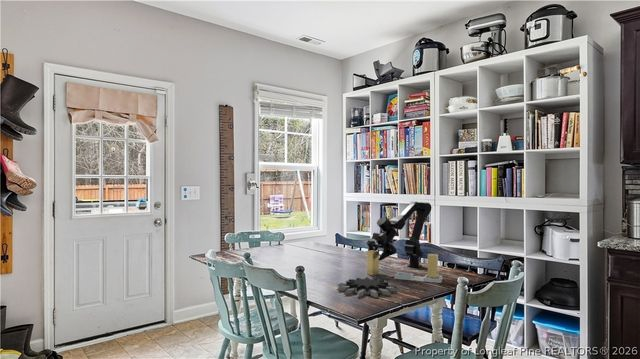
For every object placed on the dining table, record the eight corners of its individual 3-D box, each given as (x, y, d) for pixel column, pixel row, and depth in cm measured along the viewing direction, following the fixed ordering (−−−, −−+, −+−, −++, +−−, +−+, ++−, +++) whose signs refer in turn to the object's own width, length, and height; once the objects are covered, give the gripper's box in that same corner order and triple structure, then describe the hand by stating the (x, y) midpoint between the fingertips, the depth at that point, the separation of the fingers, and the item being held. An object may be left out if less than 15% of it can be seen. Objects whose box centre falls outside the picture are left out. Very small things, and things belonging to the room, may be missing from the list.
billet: (373, 272, 215) (373, 250, 215) (378, 274, 211) (378, 251, 211) (367, 274, 213) (366, 250, 213) (372, 275, 209) (372, 252, 209)
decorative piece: (366, 271, 202) (413, 282, 179) (366, 279, 202) (413, 291, 179) (321, 281, 183) (368, 295, 160) (321, 289, 183) (368, 304, 160)
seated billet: (429, 278, 199) (428, 253, 199) (438, 279, 197) (437, 254, 197) (427, 280, 195) (427, 255, 195) (437, 281, 193) (436, 255, 193)
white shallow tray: (397, 276, 207) (397, 271, 207) (442, 280, 198) (442, 275, 198) (393, 280, 199) (393, 275, 199) (440, 284, 190) (440, 279, 190)
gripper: (369, 226, 223) (354, 247, 217) (392, 229, 208) (377, 252, 201) (379, 238, 227) (364, 259, 221) (403, 242, 212) (388, 265, 206)
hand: (373, 259), depth 212 cm, fingers open, 9 cm apart
